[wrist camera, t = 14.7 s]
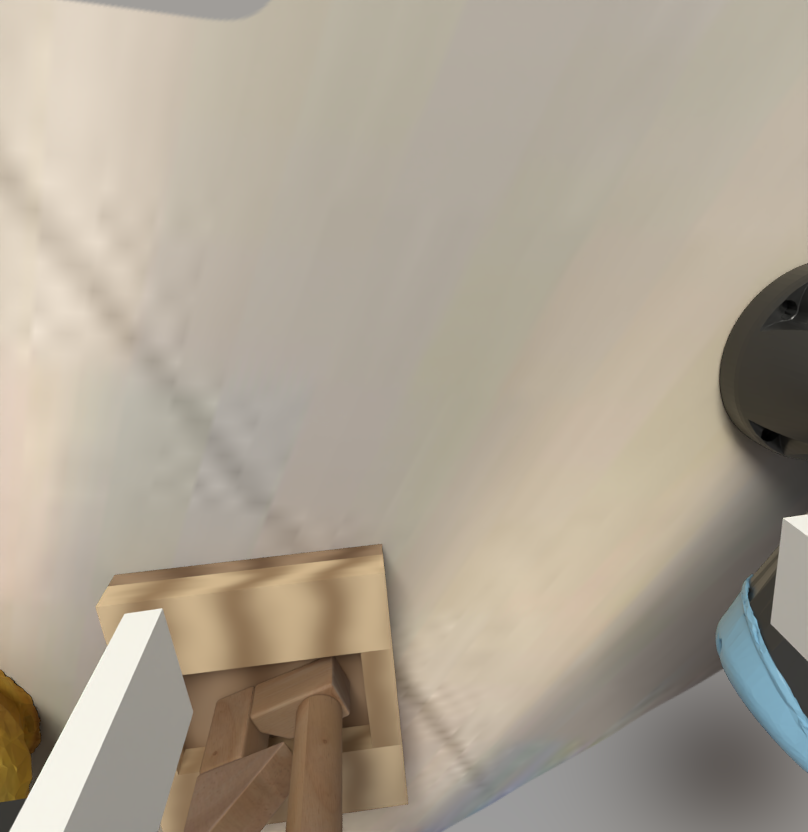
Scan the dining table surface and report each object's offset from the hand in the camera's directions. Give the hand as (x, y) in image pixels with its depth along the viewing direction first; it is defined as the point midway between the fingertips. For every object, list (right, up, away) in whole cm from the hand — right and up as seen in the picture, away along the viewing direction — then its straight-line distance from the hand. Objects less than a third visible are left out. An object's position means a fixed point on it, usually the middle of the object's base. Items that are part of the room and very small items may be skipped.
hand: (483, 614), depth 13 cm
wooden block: (-12, -19, +39) cm, 45 cm away
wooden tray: (-13, -18, +40) cm, 46 cm away
